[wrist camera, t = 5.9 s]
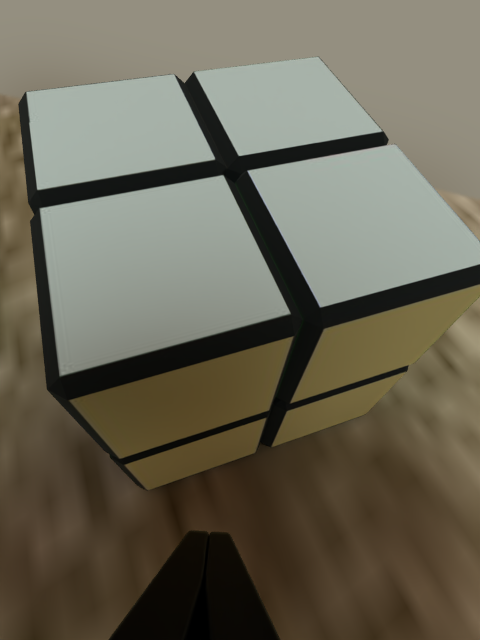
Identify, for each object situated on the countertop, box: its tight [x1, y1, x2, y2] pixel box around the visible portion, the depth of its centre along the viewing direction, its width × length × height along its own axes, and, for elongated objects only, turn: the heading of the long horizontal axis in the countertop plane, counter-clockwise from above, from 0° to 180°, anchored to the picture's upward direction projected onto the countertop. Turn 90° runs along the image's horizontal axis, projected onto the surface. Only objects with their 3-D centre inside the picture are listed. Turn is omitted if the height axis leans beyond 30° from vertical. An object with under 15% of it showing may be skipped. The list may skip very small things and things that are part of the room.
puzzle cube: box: [19, 57, 480, 491], centre depth 14 cm, size 10×10×10 cm
